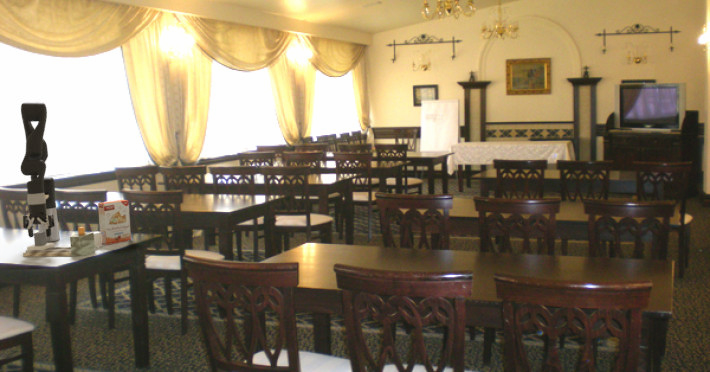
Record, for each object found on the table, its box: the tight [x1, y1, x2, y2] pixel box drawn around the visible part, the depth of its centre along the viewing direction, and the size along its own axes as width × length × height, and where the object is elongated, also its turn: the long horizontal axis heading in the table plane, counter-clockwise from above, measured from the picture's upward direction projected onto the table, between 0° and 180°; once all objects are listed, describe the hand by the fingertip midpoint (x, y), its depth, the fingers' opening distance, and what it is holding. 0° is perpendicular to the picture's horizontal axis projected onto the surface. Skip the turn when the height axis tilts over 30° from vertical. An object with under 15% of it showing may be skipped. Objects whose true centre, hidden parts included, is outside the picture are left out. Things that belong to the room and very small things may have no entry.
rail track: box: [22, 232, 96, 257], centre depth 302 cm, size 30×10×9 cm, turn 83°
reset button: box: [77, 226, 86, 235], centre depth 300 cm, size 3×3×5 cm
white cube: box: [88, 230, 102, 248], centre depth 316 cm, size 7×7×7 cm
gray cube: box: [26, 231, 55, 250], centre depth 302 cm, size 8×9×8 cm
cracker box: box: [97, 199, 132, 246], centre depth 325 cm, size 14×6×21 cm, turn 143°
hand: (40, 236), depth 302 cm, fingers open, 8 cm apart
